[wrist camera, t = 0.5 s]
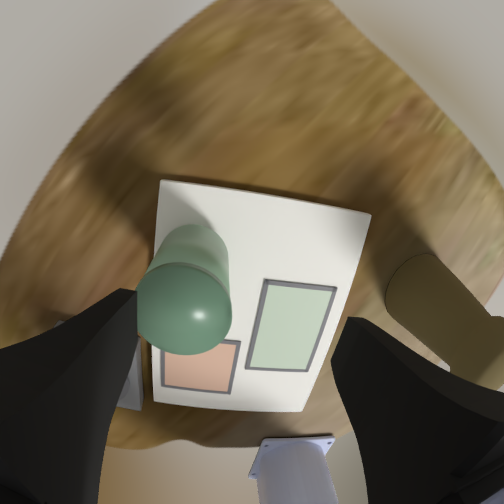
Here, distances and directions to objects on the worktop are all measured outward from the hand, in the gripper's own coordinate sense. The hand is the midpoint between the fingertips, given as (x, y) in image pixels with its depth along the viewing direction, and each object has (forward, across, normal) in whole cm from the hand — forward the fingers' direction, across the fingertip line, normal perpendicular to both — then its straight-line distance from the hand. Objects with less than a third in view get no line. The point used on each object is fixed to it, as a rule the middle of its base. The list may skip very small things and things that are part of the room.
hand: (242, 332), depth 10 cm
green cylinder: (+9, +2, +1) cm, 9 cm away
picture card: (+10, -2, +6) cm, 11 cm away
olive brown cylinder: (+10, -15, +2) cm, 18 cm away
